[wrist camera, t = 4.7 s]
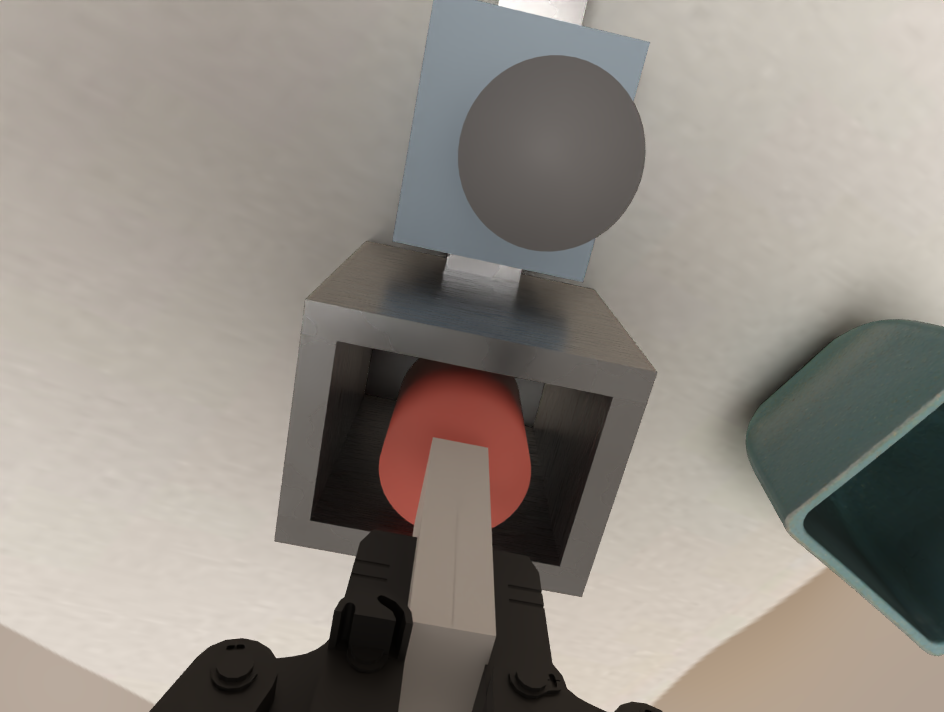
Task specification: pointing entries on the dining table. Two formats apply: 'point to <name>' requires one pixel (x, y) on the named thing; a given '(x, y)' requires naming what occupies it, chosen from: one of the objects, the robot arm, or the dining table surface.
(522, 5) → the rail
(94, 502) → the dining table surface
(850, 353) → the flower pot
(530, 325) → the open box
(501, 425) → the button
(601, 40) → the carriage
